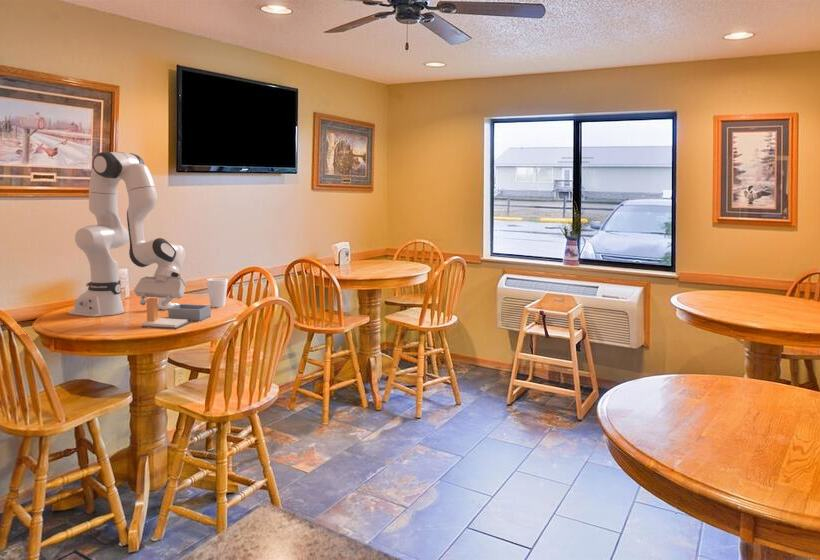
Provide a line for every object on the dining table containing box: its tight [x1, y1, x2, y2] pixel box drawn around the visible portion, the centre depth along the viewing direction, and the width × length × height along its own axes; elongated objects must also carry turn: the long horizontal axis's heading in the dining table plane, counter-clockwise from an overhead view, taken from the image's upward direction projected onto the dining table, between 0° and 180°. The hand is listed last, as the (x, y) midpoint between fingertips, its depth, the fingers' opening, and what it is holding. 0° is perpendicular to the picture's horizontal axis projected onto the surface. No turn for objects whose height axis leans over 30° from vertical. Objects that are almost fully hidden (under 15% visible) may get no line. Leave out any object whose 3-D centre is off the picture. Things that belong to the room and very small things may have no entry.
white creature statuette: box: [157, 298, 180, 311], centre depth 274 cm, size 10×9×12 cm
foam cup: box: [206, 277, 229, 308], centre depth 283 cm, size 10×9×13 cm
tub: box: [167, 303, 212, 322], centre depth 257 cm, size 14×10×5 cm
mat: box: [141, 321, 191, 330], centre depth 244 cm, size 15×11×1 cm
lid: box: [141, 297, 189, 327], centre depth 243 cm, size 14×10×10 cm
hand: (152, 304), depth 244 cm, fingers open, 8 cm apart
